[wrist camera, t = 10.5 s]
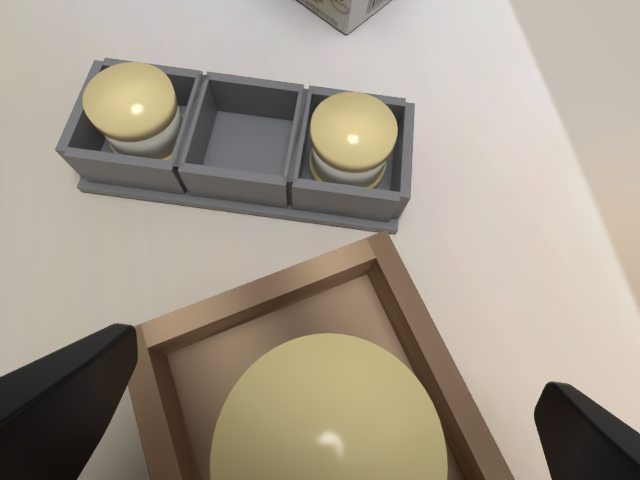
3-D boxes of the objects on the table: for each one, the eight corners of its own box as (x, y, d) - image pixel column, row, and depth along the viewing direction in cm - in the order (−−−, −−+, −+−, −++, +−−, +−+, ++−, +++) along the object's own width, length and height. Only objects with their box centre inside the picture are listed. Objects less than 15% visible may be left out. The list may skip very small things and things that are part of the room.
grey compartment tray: (401, 128, 24) (415, 94, 22) (395, 234, 22) (409, 210, 19) (121, 90, 24) (98, 51, 22) (81, 191, 22) (49, 161, 19)
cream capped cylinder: (282, 495, 16) (258, 659, 6) (248, 393, 18) (180, 386, 7) (375, 449, 17) (492, 526, 7) (336, 355, 18) (383, 301, 8)
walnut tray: (225, 644, 15) (206, 711, 12) (146, 344, 19) (115, 333, 16) (491, 497, 18) (535, 520, 14) (372, 256, 21) (386, 230, 18)
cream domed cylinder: (329, 211, 22) (334, 176, 18) (297, 150, 23) (296, 108, 20) (396, 182, 22) (413, 145, 19) (361, 125, 24) (371, 81, 20)
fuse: (126, 183, 22) (95, 144, 18) (105, 124, 23) (72, 77, 20) (201, 156, 22) (185, 114, 19) (177, 100, 24) (157, 52, 20)
